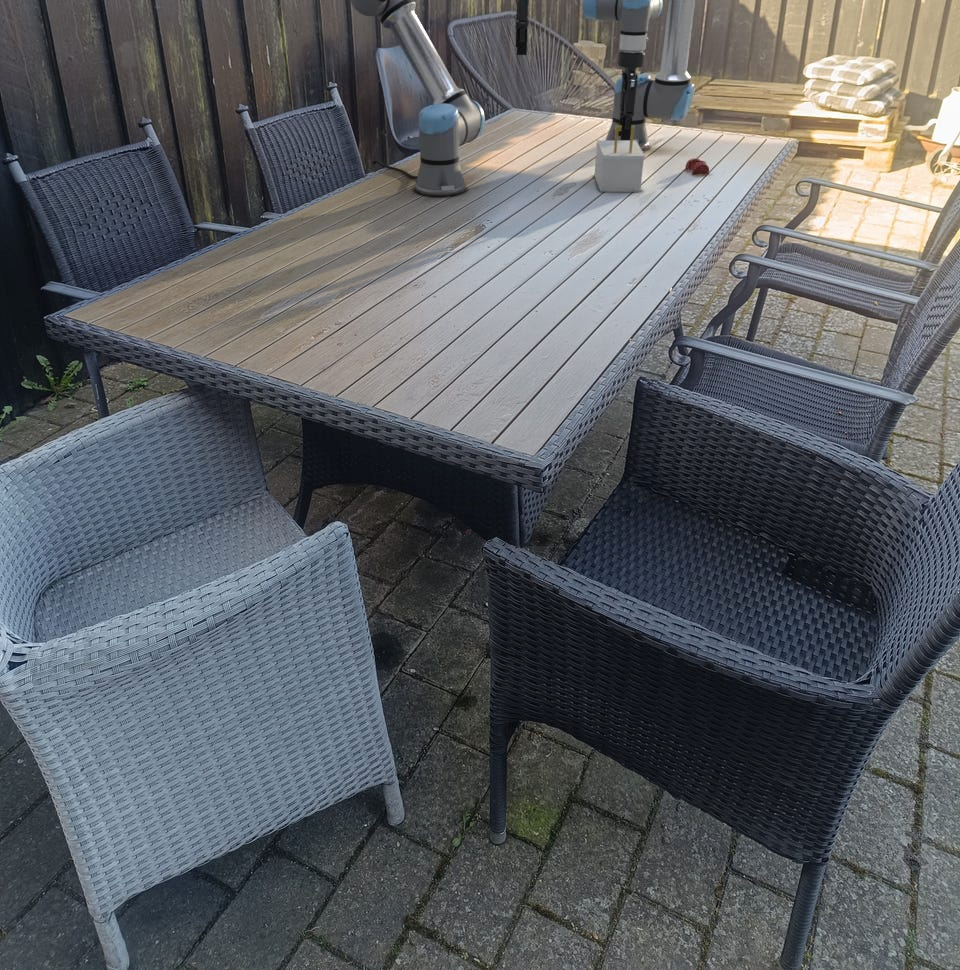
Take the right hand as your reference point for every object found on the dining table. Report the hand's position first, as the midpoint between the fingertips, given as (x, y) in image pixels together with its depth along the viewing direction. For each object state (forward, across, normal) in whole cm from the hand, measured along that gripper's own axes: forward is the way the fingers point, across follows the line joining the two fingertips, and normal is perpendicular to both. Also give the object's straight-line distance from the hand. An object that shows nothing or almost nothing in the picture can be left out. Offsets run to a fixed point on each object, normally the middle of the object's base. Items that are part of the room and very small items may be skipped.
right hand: (624, 137), depth 251 cm
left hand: (-23, +2, +31) cm, 39 cm away
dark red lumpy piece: (+15, +18, -27) cm, 36 cm away
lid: (+5, +5, 0) cm, 7 cm away
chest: (+15, +6, 0) cm, 16 cm away
